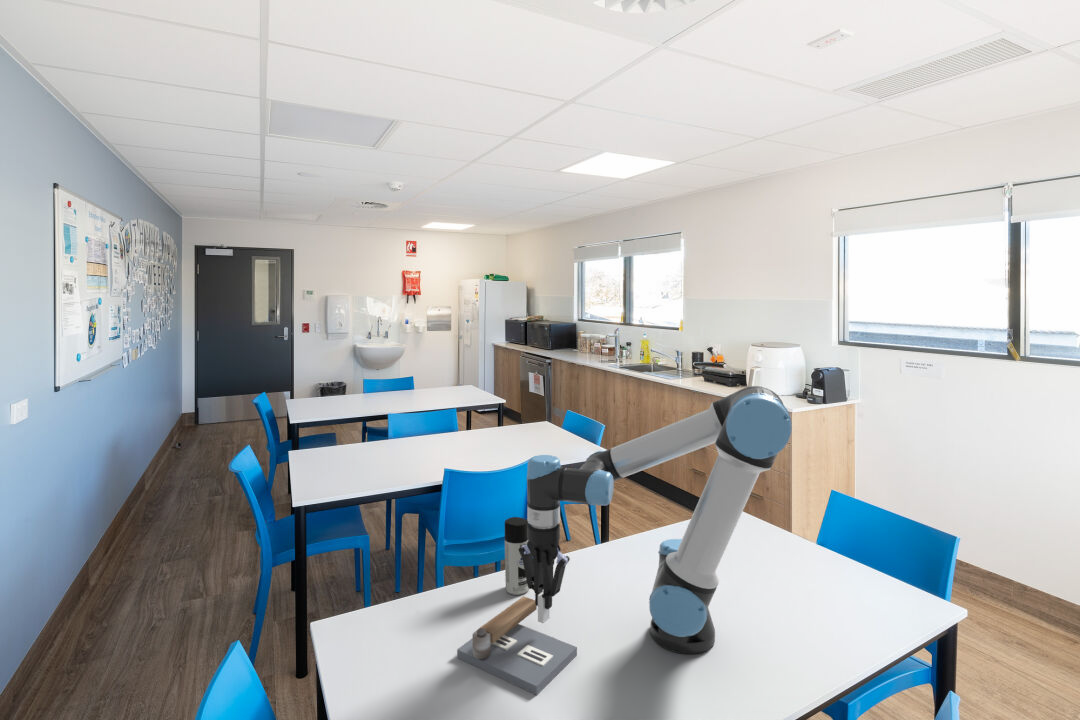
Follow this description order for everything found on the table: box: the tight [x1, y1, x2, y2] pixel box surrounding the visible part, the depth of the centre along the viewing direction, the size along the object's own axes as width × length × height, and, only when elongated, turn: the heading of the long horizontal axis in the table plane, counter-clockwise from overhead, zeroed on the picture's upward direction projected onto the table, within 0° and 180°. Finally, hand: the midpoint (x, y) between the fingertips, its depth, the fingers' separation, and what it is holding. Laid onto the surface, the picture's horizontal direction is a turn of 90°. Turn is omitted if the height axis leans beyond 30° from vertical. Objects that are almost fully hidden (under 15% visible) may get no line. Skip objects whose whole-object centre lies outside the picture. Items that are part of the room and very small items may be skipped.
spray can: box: [504, 516, 530, 596], centre depth 159 cm, size 7×7×20 cm
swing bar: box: [471, 595, 538, 659], centre depth 134 cm, size 4×20×5 cm, turn 146°
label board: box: [456, 623, 578, 696], centre depth 130 cm, size 22×16×2 cm
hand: (543, 619), depth 134 cm, fingers closed
